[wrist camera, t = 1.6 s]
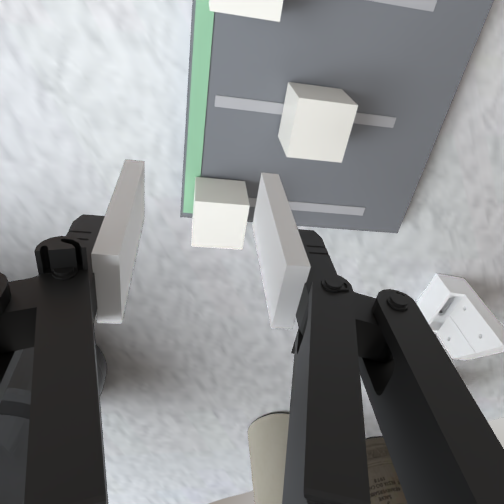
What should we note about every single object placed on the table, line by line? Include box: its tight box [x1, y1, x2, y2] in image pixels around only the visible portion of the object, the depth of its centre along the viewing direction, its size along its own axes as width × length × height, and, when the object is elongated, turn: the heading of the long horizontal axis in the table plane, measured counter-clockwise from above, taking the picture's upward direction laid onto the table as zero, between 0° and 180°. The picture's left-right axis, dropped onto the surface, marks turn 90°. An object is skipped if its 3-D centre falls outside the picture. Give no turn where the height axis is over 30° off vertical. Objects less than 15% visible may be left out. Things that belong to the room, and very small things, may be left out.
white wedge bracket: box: [416, 273, 504, 361], centre depth 44 cm, size 4×10×9 cm, turn 164°
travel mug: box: [248, 413, 289, 504], centre depth 52 cm, size 8×8×18 cm
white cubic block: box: [278, 82, 358, 163], centre depth 29 cm, size 4×4×4 cm
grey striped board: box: [180, 0, 494, 233], centre depth 32 cm, size 20×20×2 cm
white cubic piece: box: [191, 177, 250, 250], centre depth 33 cm, size 4×4×4 cm
